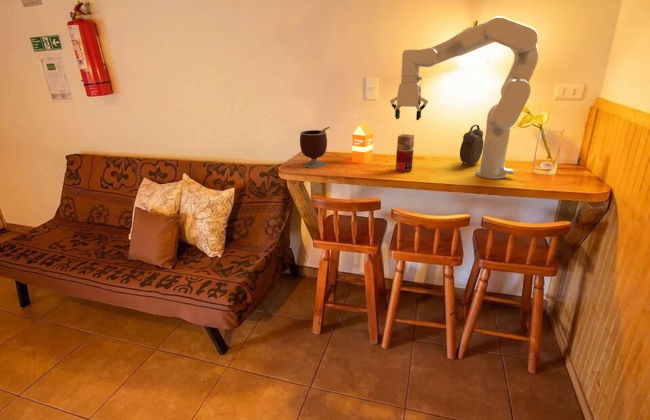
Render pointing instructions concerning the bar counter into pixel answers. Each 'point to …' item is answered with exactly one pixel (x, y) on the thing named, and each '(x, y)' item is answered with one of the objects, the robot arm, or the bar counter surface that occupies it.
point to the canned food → (404, 160)
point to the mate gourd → (313, 146)
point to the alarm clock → (472, 146)
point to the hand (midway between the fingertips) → (407, 119)
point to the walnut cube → (405, 142)
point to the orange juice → (362, 144)
